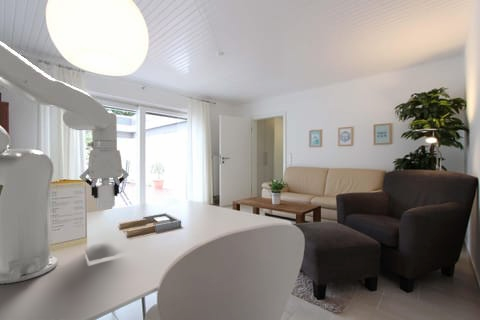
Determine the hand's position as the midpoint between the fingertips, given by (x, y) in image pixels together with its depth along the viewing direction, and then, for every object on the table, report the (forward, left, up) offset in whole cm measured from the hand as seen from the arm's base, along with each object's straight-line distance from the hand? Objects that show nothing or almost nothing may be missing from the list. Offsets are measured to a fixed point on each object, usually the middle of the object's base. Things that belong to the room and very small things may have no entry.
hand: (105, 196), depth 81 cm
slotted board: (+1, -16, -15) cm, 22 cm away
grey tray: (+1, -21, -14) cm, 25 cm away
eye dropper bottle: (0, 0, -4) cm, 4 cm away
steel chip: (+1, -20, -14) cm, 25 cm away
